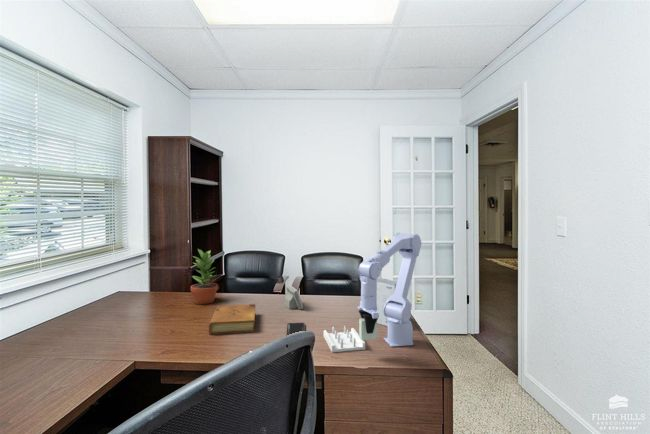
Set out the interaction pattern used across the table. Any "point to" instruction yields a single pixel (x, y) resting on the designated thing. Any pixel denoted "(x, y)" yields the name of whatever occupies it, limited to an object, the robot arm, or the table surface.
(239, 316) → the diary
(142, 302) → the table surface
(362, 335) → the block
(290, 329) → the phone
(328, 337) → the dish rack
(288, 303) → the grey angular sculpture
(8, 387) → the table surface
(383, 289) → the hard drive box
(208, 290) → the potted plant
